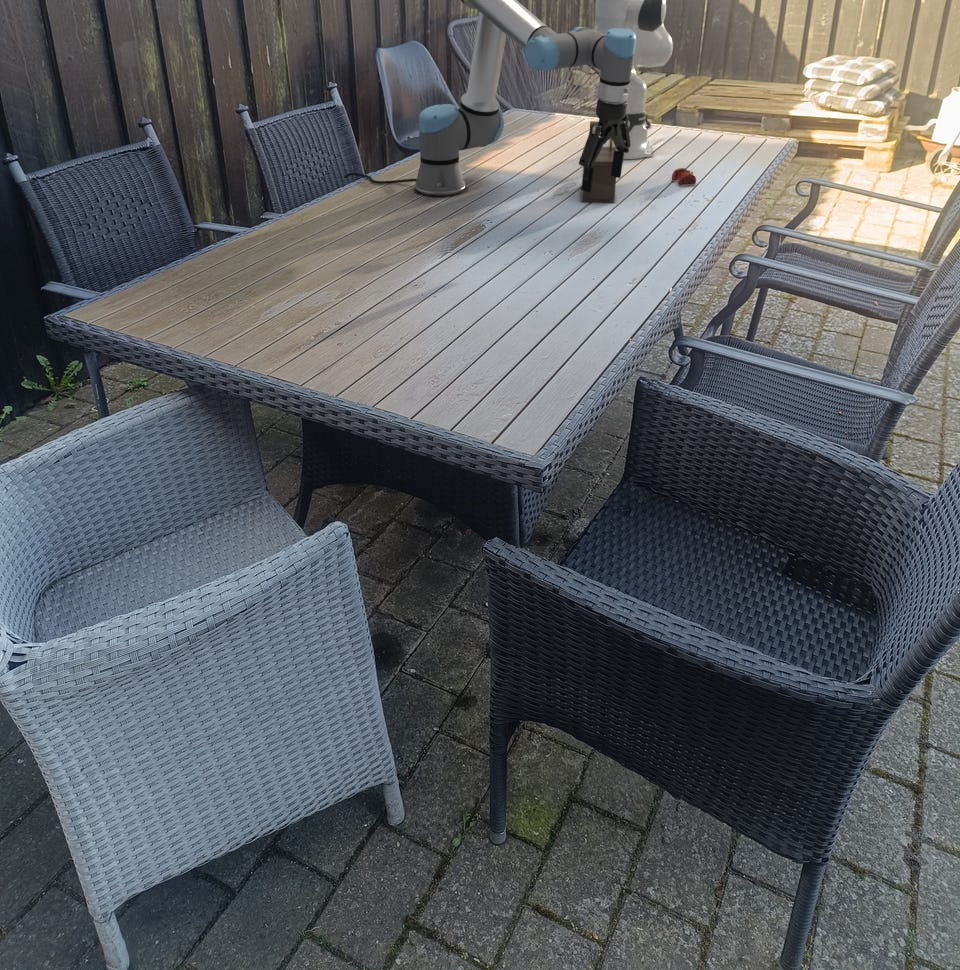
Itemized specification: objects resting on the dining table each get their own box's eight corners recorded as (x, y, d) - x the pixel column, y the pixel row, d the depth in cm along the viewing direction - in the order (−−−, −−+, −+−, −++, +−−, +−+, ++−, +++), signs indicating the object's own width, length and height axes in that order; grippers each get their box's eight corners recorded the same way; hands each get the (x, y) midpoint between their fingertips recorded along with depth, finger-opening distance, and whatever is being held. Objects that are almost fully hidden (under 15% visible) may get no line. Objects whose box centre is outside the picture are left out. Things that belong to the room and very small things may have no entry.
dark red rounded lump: (687, 164, 265) (698, 171, 259) (685, 177, 268) (697, 185, 262) (670, 166, 264) (681, 173, 258) (669, 179, 267) (680, 187, 261)
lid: (584, 150, 257) (586, 119, 251) (615, 151, 256) (618, 120, 251) (584, 165, 243) (586, 133, 238) (617, 166, 242) (620, 133, 237)
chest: (582, 185, 262) (584, 151, 256) (612, 186, 261) (615, 152, 255) (582, 201, 249) (584, 166, 243) (613, 202, 248) (617, 166, 242)
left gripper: (596, 115, 200) (585, 201, 215) (652, 92, 215) (638, 174, 229) (570, 107, 204) (561, 192, 218) (627, 85, 218) (615, 166, 233)
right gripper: (621, 51, 229) (616, 105, 237) (618, 39, 245) (614, 91, 253) (597, 50, 229) (593, 105, 237) (596, 39, 246) (593, 90, 254)
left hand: (601, 183), depth 224 cm, fingers open, 13 cm apart
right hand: (604, 98), depth 245 cm, fingers open, 8 cm apart
